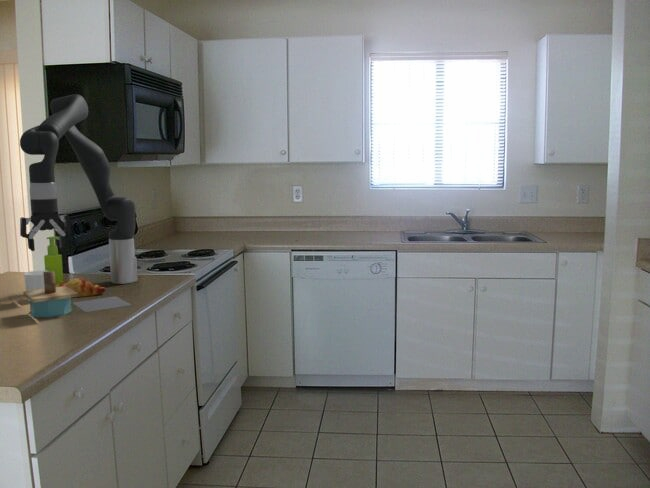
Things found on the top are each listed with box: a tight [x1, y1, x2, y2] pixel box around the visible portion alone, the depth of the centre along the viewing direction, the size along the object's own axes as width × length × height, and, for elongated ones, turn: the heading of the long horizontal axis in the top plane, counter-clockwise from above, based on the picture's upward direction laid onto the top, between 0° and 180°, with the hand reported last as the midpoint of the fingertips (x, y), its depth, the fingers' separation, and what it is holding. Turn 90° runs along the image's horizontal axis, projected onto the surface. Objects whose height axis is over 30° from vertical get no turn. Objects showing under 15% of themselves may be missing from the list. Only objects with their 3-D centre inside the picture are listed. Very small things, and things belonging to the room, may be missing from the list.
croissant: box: [55, 277, 106, 298], centre depth 217 cm, size 21×10×8 cm, turn 90°
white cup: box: [23, 269, 47, 302], centre depth 209 cm, size 8×8×10 cm
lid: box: [22, 271, 79, 303], centre depth 192 cm, size 13×13×8 cm
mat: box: [71, 295, 132, 313], centre depth 204 cm, size 15×15×1 cm
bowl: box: [29, 297, 73, 320], centre depth 193 cm, size 11×11×6 cm
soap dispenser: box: [43, 236, 64, 285], centre depth 224 cm, size 6×7×20 cm
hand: (47, 249), depth 190 cm, fingers open, 8 cm apart
